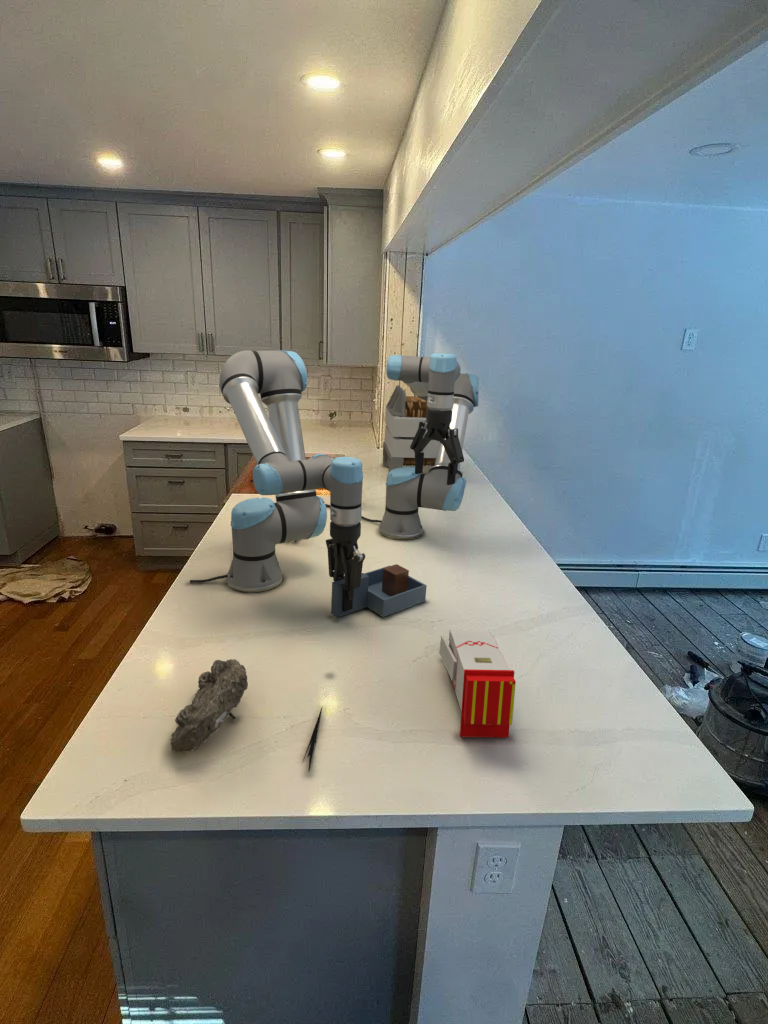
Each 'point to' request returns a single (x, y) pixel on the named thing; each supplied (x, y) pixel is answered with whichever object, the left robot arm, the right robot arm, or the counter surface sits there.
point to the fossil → (210, 704)
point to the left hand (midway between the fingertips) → (343, 607)
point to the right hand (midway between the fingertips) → (434, 478)
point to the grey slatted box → (405, 431)
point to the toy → (479, 682)
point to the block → (394, 580)
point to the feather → (313, 740)
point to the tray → (377, 595)
